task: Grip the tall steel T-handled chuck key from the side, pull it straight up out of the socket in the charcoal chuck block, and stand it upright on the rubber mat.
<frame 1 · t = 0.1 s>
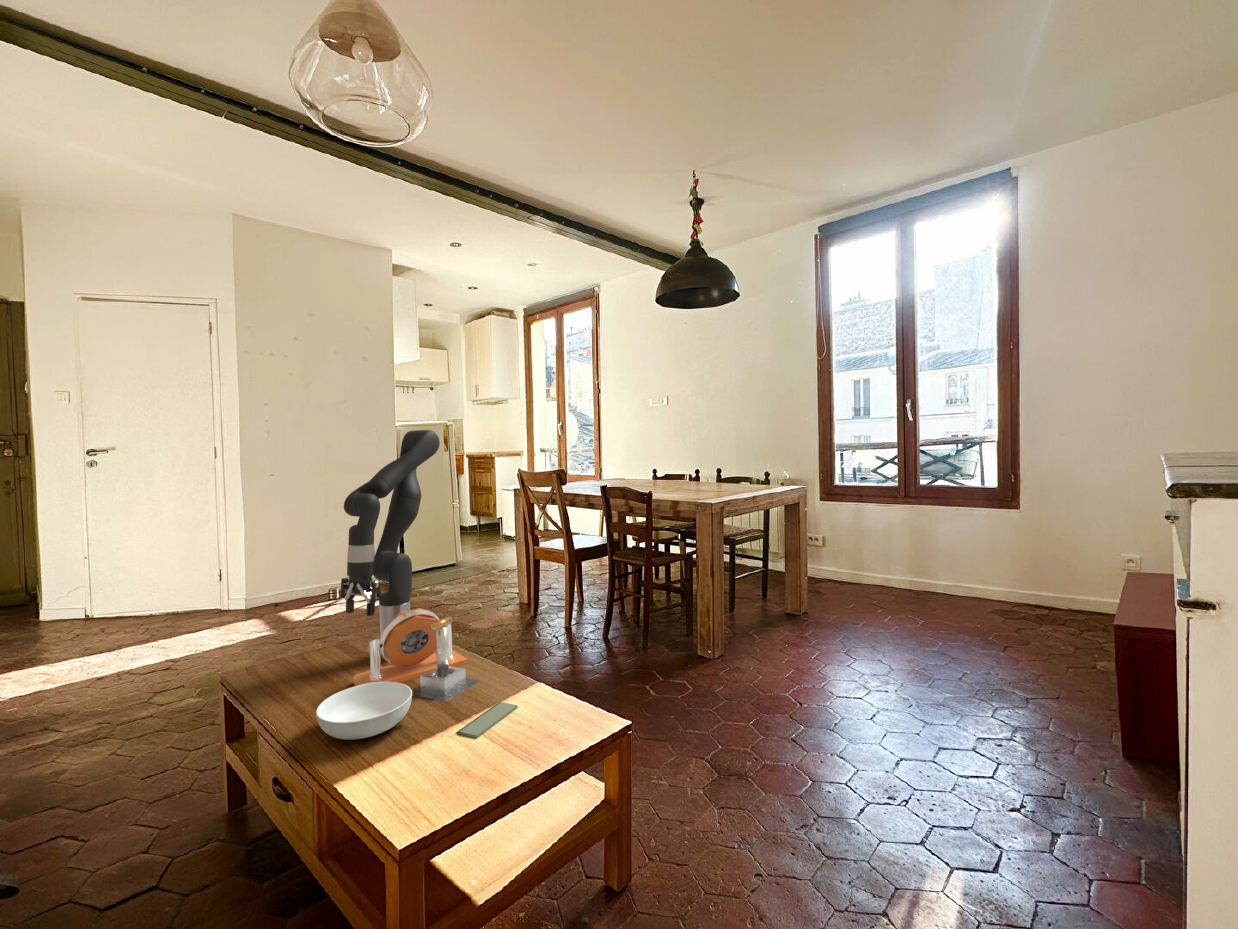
hand: (360, 614, 169), 17 cm above the table, tool pointing down, fingers open, 8 cm apart
chuck block: (443, 690, 154), on the table
serving bowl: (366, 729, 135), on the table
desk clock: (411, 676, 166), on the table
chuck key: (443, 686, 154), point 1 cm above the table, touching chuck block
rubber mat: (471, 716, 139), on the table
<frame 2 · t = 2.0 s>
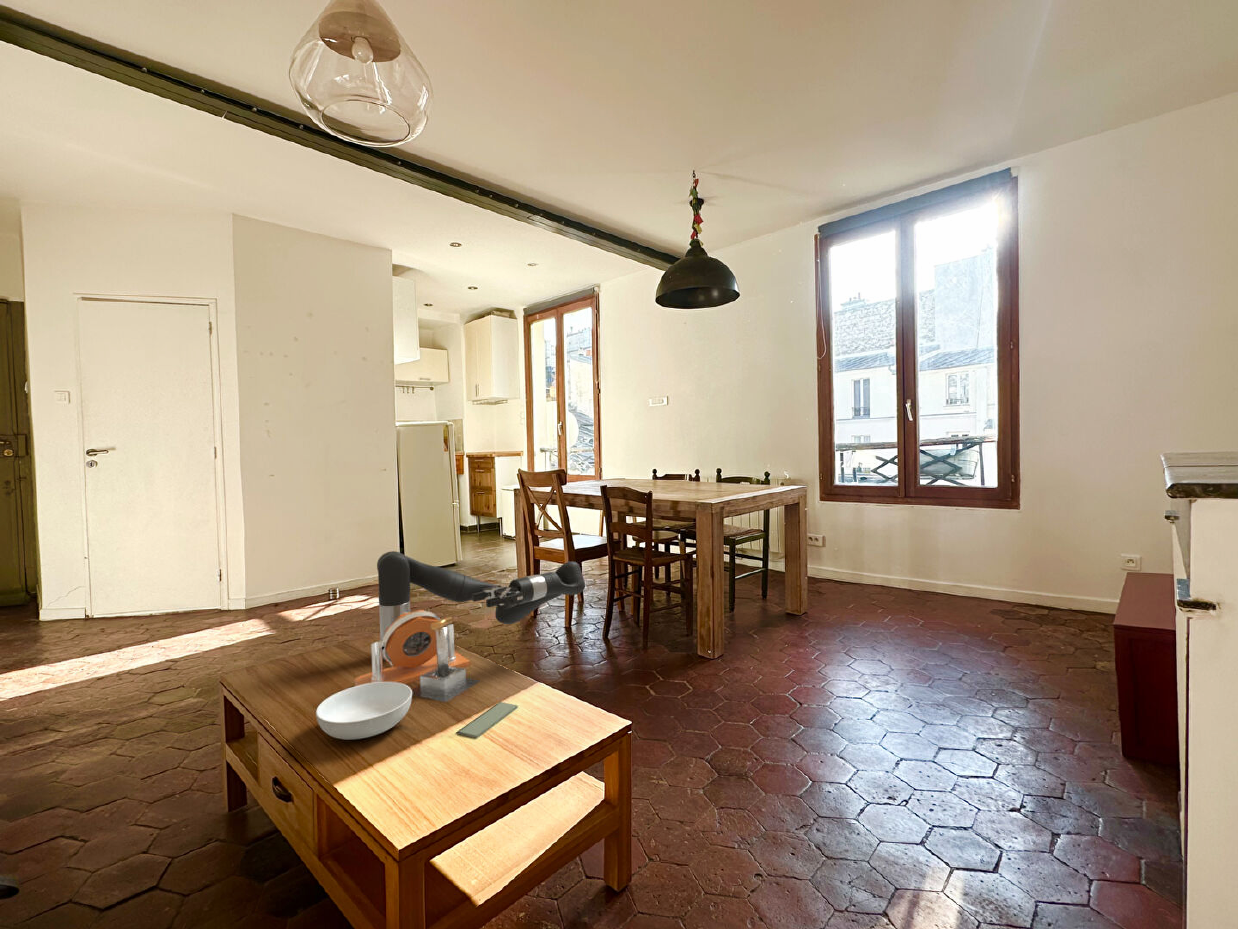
hand: (479, 600, 161), 22 cm above the table, tool horizontal, fingers open, 8 cm apart
desk clock: (413, 678, 164), on the table
everything else where it was.
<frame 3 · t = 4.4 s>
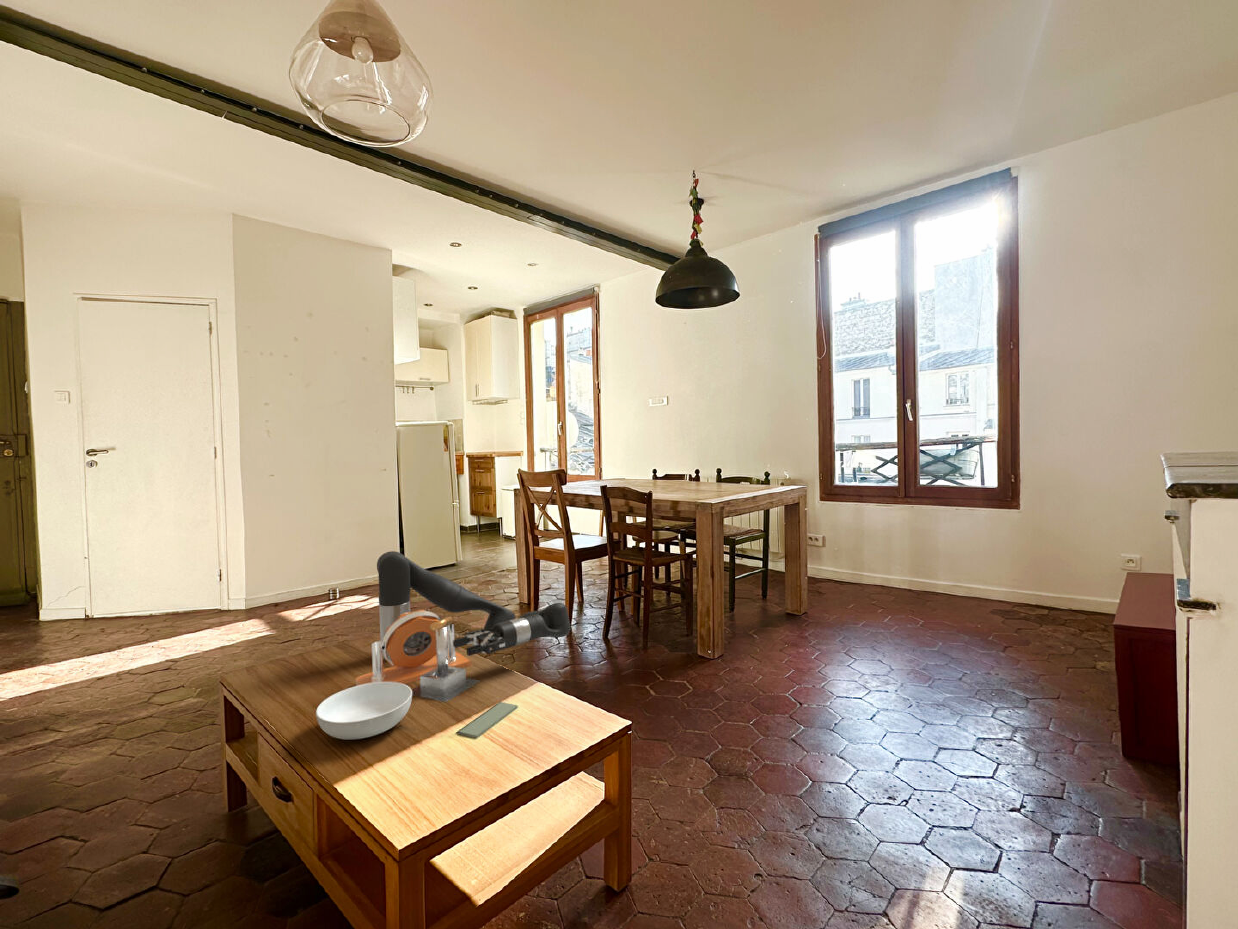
hand: (460, 647, 157), 11 cm above the table, tool horizontal, fingers open, 8 cm apart
nothing on the table moved.
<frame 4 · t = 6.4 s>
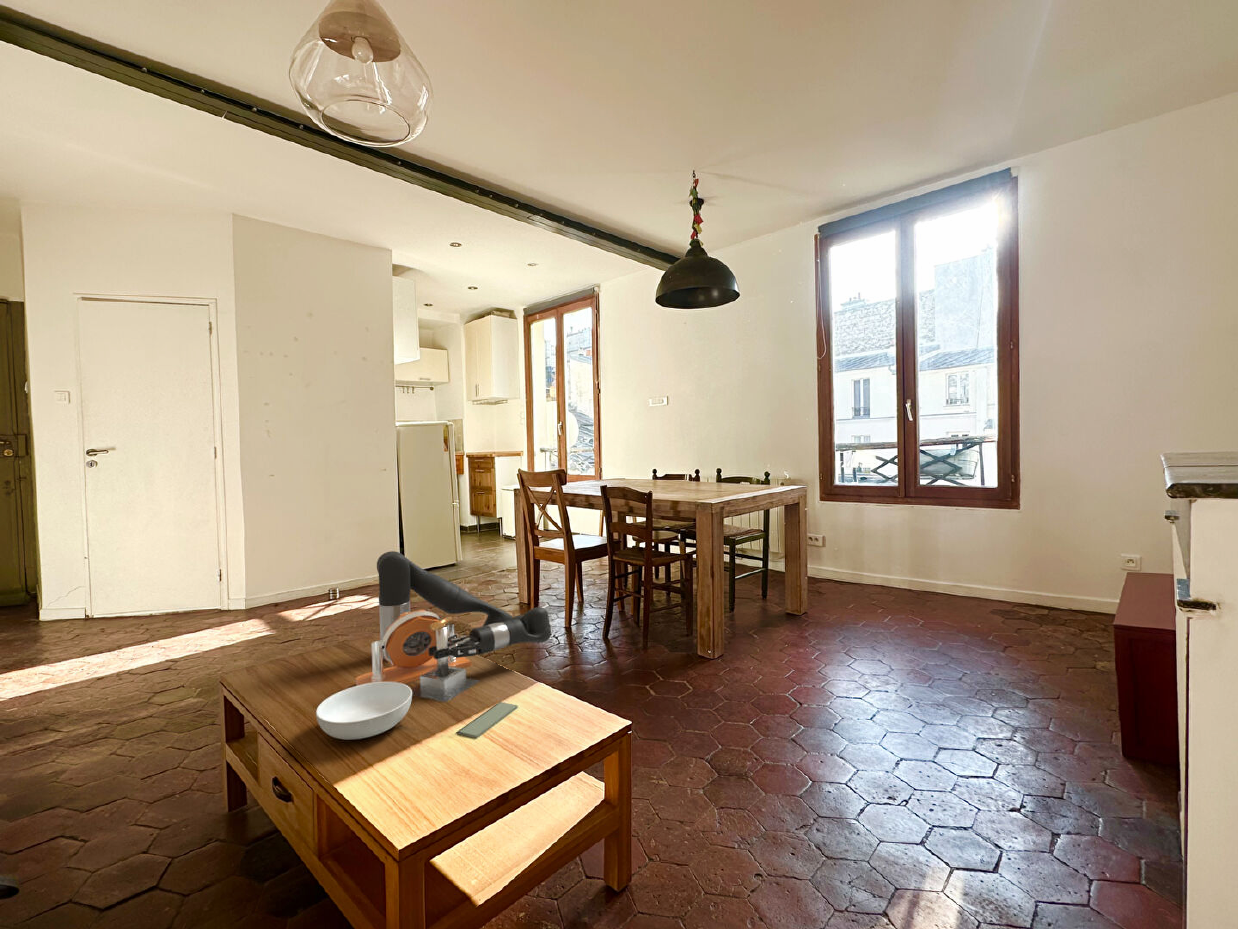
hand: (431, 653, 152), 11 cm above the table, tool horizontal, fingers closed on chuck key, 3 cm apart
chuck key: (443, 686, 154), point 1 cm above the table, touching chuck block, gripper
everything else where it was.
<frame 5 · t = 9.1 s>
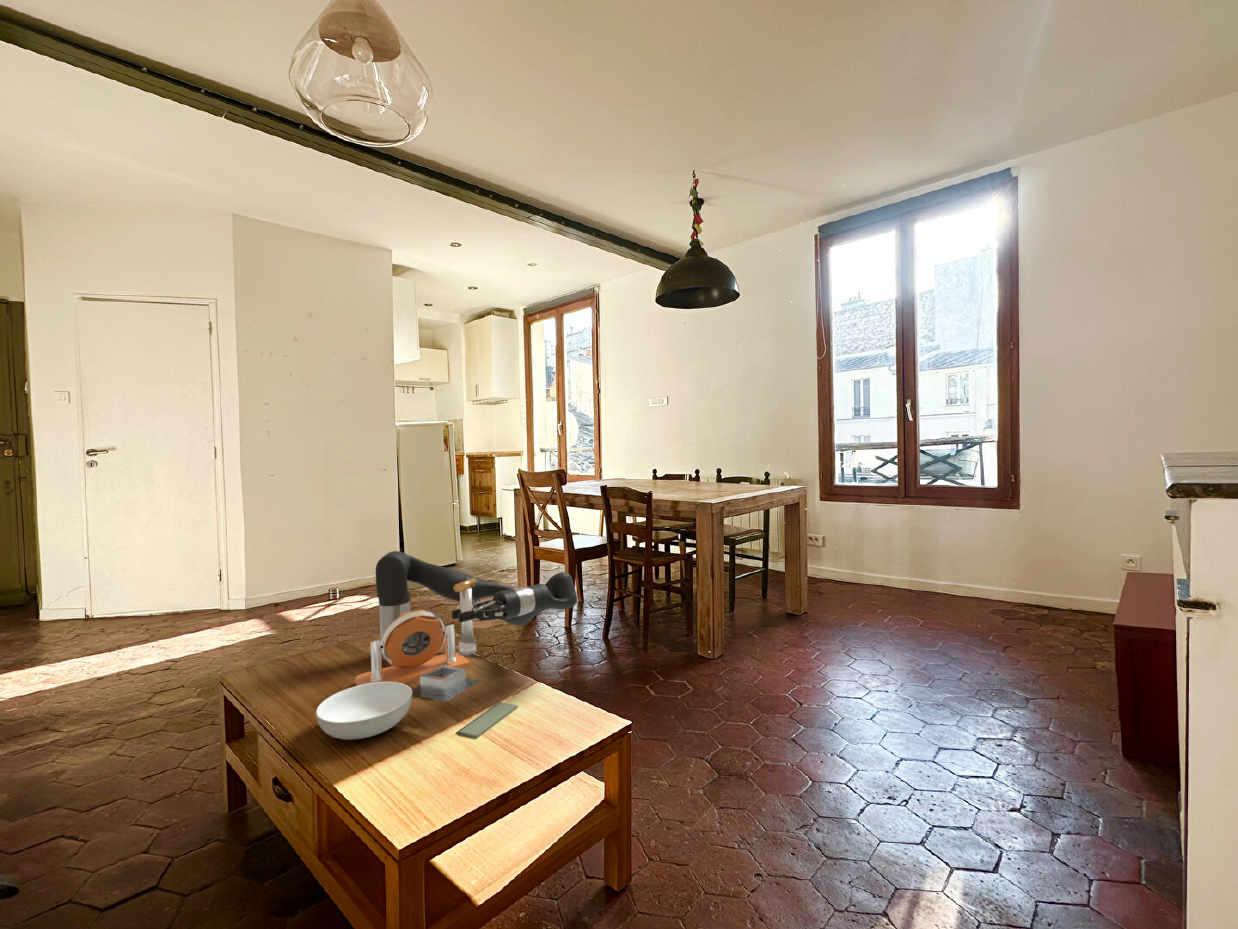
hand: (455, 616, 143), 24 cm above the table, tool horizontal, fingers closed on chuck key, 3 cm apart
chuck key: (467, 652, 145), point 14 cm above the table, touching gripper
everything else where it was.
when the fingers open (11 cm above the table, at t = 12.0 s): chuck key stays where it is, resting on rubber mat.
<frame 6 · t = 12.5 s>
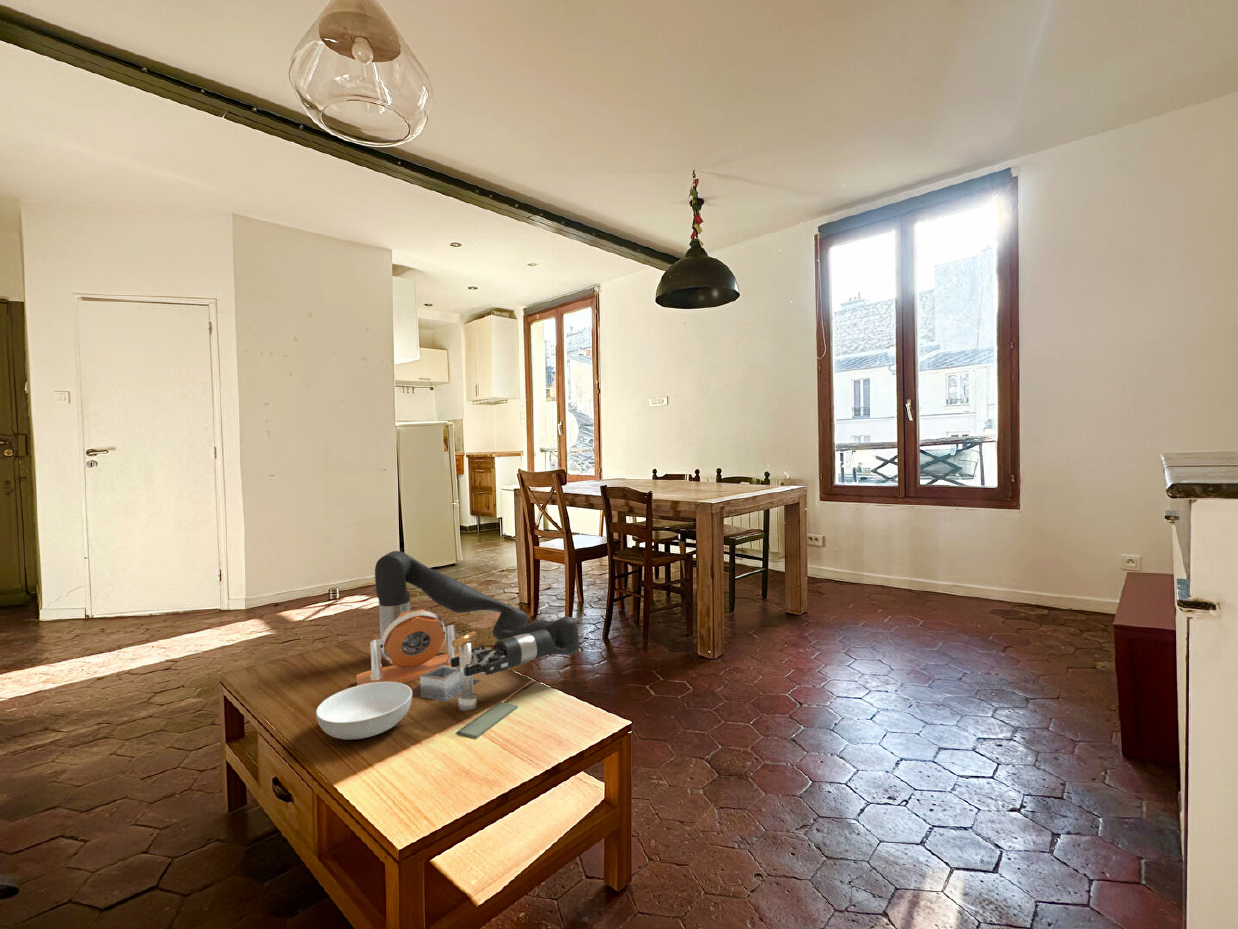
hand: (457, 667, 140), 12 cm above the table, tool horizontal, fingers open, 7 cm apart
chuck key: (467, 708, 142), point 1 cm above the table, touching rubber mat
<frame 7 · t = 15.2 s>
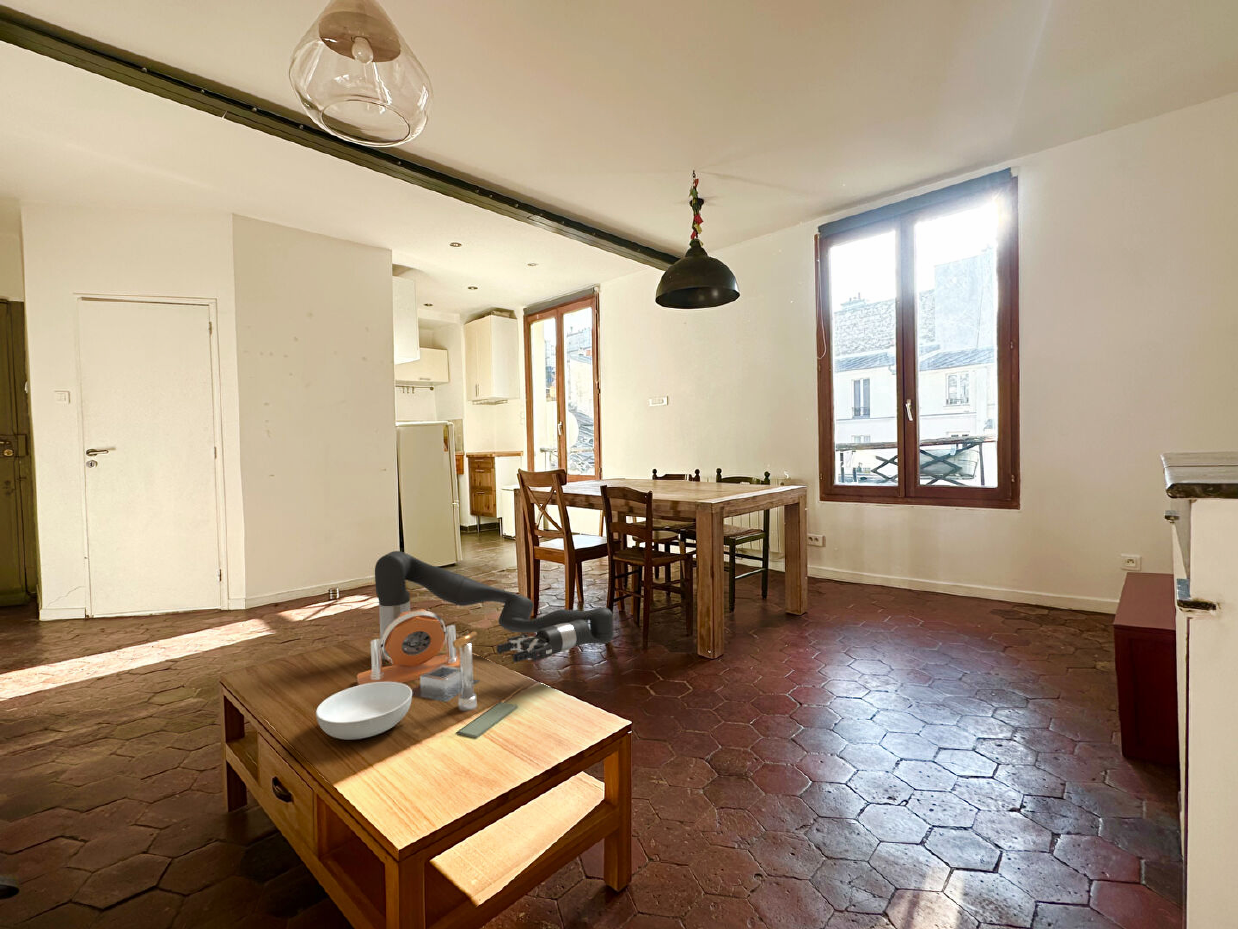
hand: (505, 653, 149), 12 cm above the table, tool horizontal, fingers open, 8 cm apart
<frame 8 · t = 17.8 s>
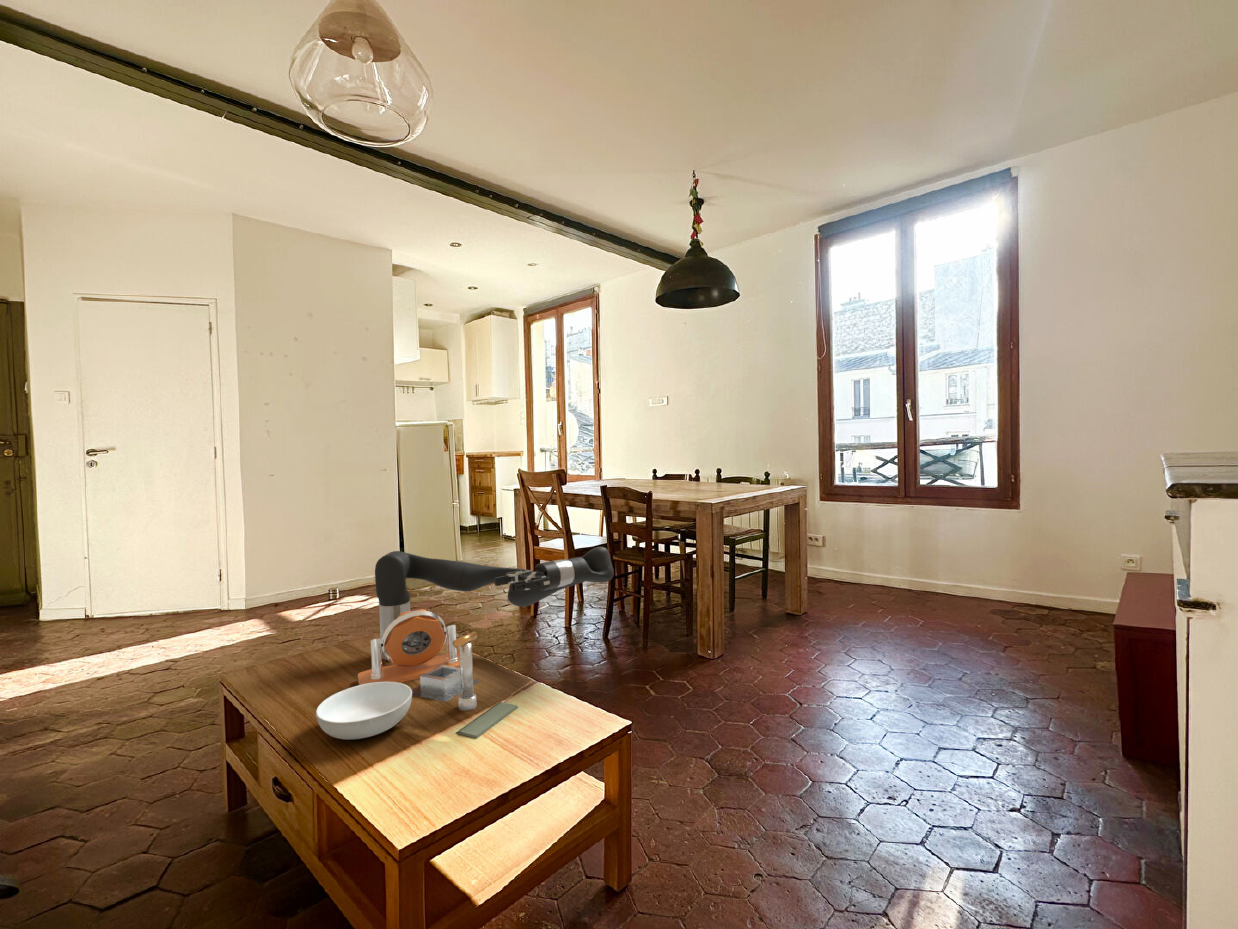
hand: (502, 584, 148), 30 cm above the table, tool horizontal, fingers open, 8 cm apart
at the end: chuck key inside the target area (2.3 cm from its centre), point 0.6 cm above the table; chuck key tilted 0°; the gripper is holding nothing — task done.
